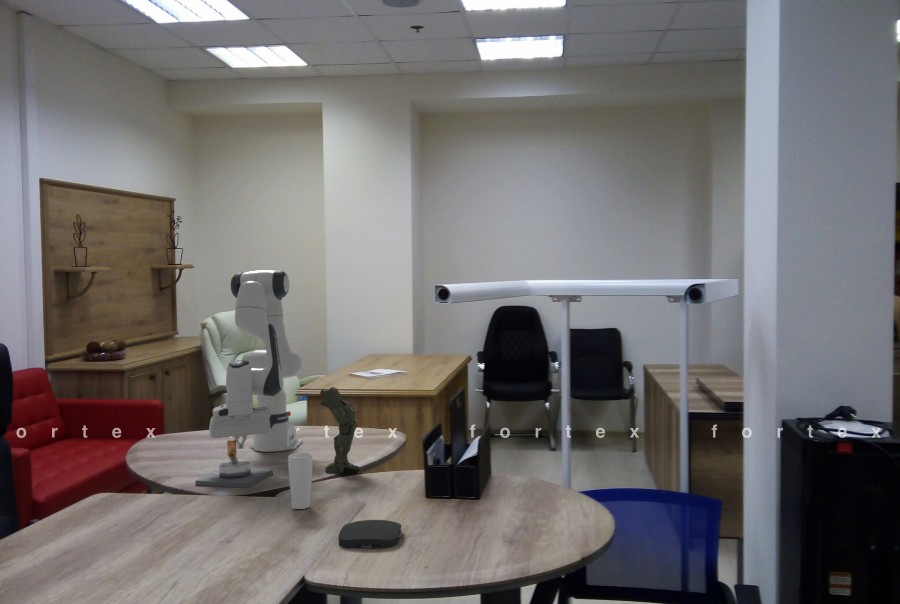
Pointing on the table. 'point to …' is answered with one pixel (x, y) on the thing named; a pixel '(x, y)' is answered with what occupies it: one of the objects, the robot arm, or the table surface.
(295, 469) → the drinking glass
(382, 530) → the media streaming box
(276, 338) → the robot arm
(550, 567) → the table surface
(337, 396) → the mechanical leg
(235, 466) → the lever
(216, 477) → the housing plate
